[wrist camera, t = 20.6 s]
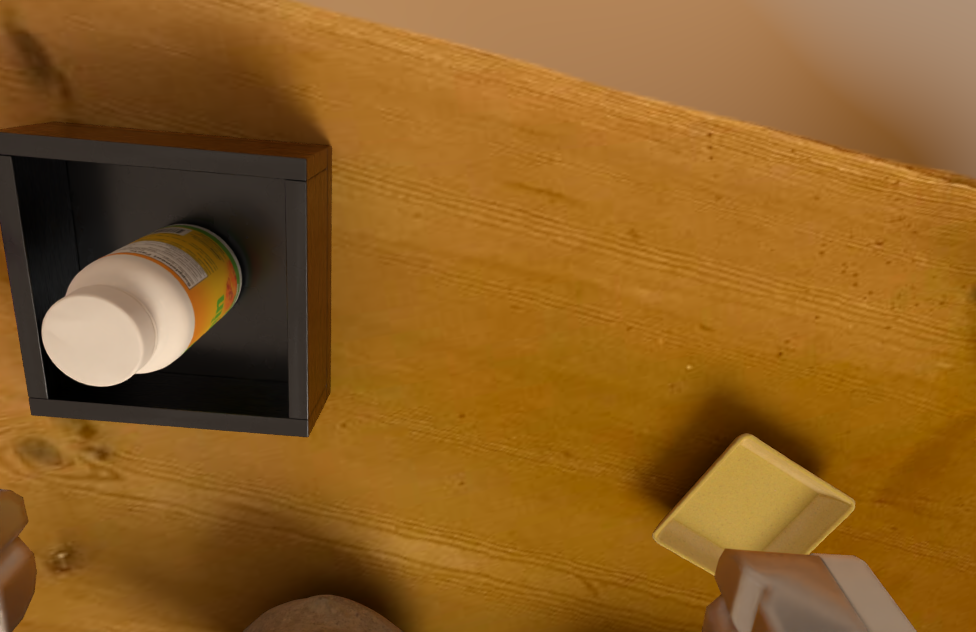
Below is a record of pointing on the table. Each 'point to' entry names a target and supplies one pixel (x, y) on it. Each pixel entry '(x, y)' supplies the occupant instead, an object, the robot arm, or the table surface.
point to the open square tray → (151, 206)
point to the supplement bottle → (142, 305)
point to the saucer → (752, 507)
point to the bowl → (321, 617)
